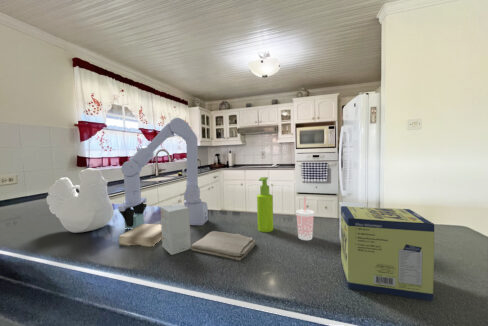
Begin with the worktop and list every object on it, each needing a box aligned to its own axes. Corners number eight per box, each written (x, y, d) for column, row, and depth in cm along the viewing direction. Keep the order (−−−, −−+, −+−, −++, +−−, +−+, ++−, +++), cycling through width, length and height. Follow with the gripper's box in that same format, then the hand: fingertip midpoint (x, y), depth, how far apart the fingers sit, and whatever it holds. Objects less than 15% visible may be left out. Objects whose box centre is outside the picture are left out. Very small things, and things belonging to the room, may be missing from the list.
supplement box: (363, 240, 69) (364, 202, 69) (368, 251, 62) (369, 208, 62) (338, 238, 72) (338, 201, 71) (341, 248, 65) (341, 206, 64)
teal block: (144, 225, 89) (143, 213, 89) (136, 229, 84) (135, 217, 84) (133, 225, 90) (132, 213, 90) (124, 229, 85) (124, 217, 85)
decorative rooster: (123, 224, 92) (120, 166, 91) (88, 238, 77) (84, 169, 75) (79, 220, 98) (75, 166, 97) (38, 233, 83) (33, 169, 82)
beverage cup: (317, 237, 73) (317, 196, 73) (309, 242, 69) (309, 199, 68) (301, 232, 77) (300, 194, 77) (292, 238, 73) (292, 197, 72)
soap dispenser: (254, 232, 79) (253, 178, 78) (260, 225, 86) (259, 176, 84) (270, 234, 77) (269, 178, 76) (274, 227, 83) (274, 176, 82)
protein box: (339, 264, 56) (339, 205, 55) (410, 272, 51) (411, 208, 50) (346, 289, 46) (346, 217, 45) (435, 302, 41) (437, 223, 40)
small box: (191, 249, 66) (189, 207, 66) (171, 255, 62) (169, 211, 62) (180, 241, 73) (179, 203, 72) (161, 246, 69) (159, 206, 68)
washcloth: (242, 263, 58) (242, 252, 58) (189, 252, 65) (188, 242, 65) (257, 245, 69) (257, 235, 69) (209, 237, 76) (209, 229, 76)
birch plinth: (171, 232, 81) (170, 224, 80) (152, 246, 69) (152, 237, 69) (142, 231, 82) (141, 223, 82) (119, 245, 71) (118, 236, 70)
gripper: (135, 187, 94) (137, 218, 95) (110, 194, 80) (112, 230, 81) (150, 187, 93) (151, 218, 94) (127, 194, 79) (129, 230, 80)
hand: (134, 223), depth 87 cm, fingers closed on teal block, 5 cm apart
